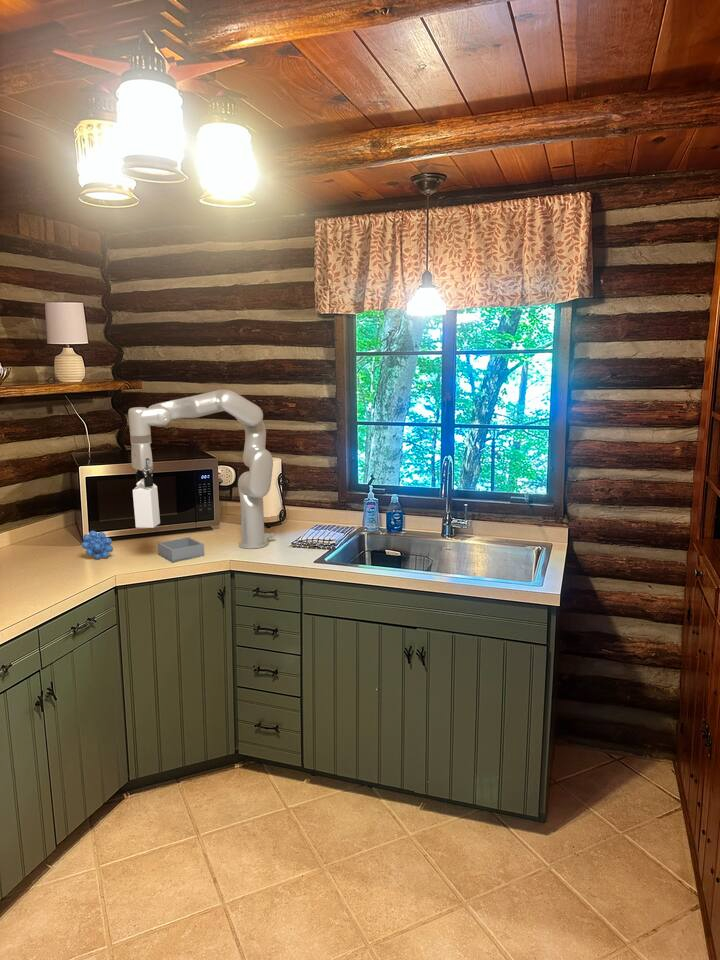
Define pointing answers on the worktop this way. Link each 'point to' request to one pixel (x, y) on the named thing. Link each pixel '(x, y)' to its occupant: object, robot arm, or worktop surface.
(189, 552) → the bin
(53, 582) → the worktop surface
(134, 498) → the milk carton
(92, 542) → the grapes
